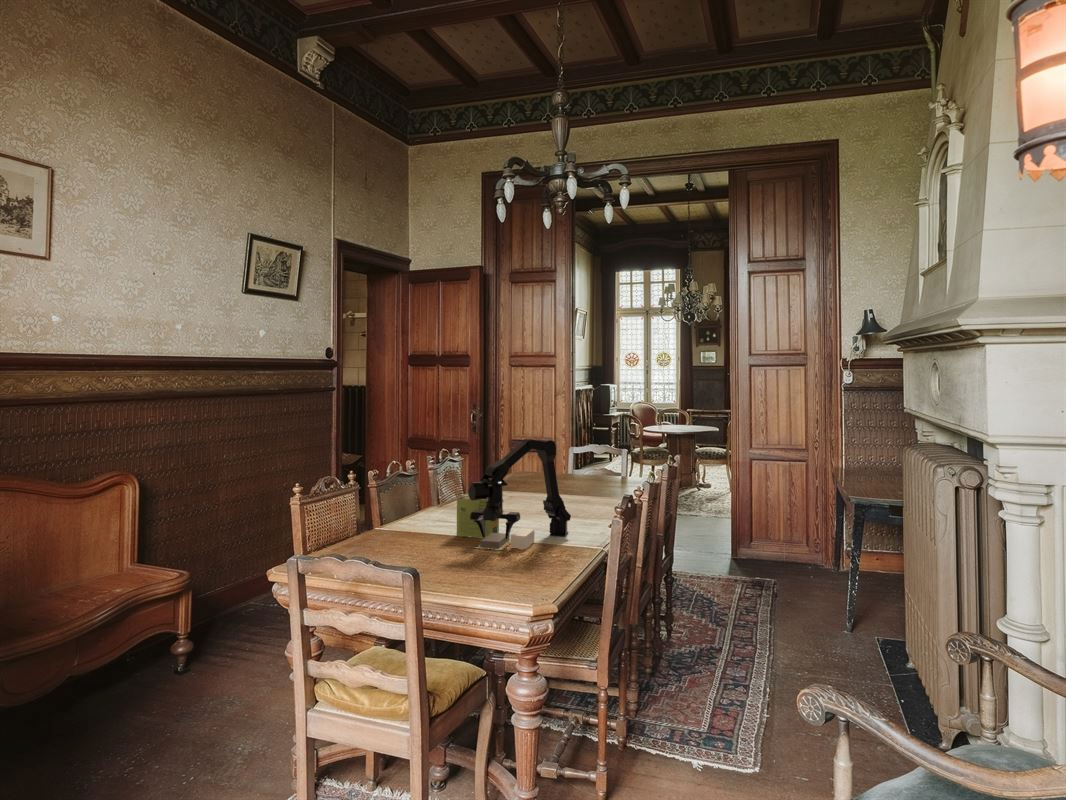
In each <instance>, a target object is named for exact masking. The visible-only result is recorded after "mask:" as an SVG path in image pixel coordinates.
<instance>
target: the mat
mask: <svg viewBox="0 0 1066 800" xmlns="http://www.w3.org/2000/svg"><path fill="white" fill-rule="evenodd" d="M509 542H510V543H511V538H510V540H509ZM477 546H480V543H479V544H478V545H477ZM501 547H505V546H501ZM474 548H476V546H475V547H474ZM478 548H481V547H478ZM482 548H484V547H482ZM485 549H488V548H485ZM485 549H484V550H485ZM489 549H498V548H489ZM503 549H504V548H499V549H498V550H503ZM498 550H497V551H498ZM504 550H505V549H504ZM504 550H503V551H504Z"/></svg>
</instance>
